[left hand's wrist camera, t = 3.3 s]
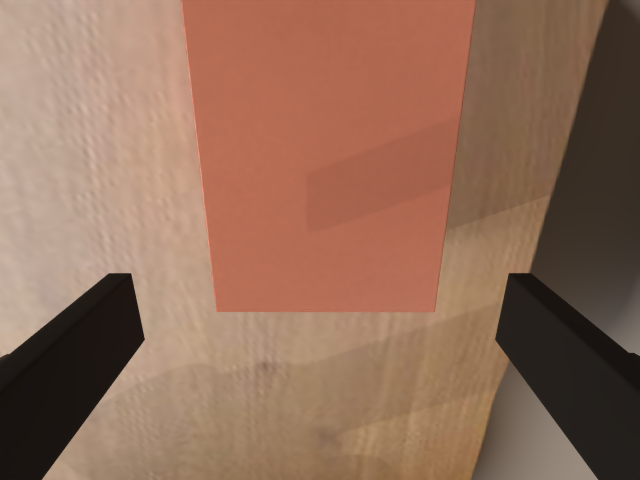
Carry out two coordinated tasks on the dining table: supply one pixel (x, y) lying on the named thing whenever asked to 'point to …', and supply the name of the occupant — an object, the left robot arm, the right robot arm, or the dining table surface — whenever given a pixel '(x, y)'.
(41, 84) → the dining table surface
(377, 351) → the dining table surface
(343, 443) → the dining table surface
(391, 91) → the cabinet
